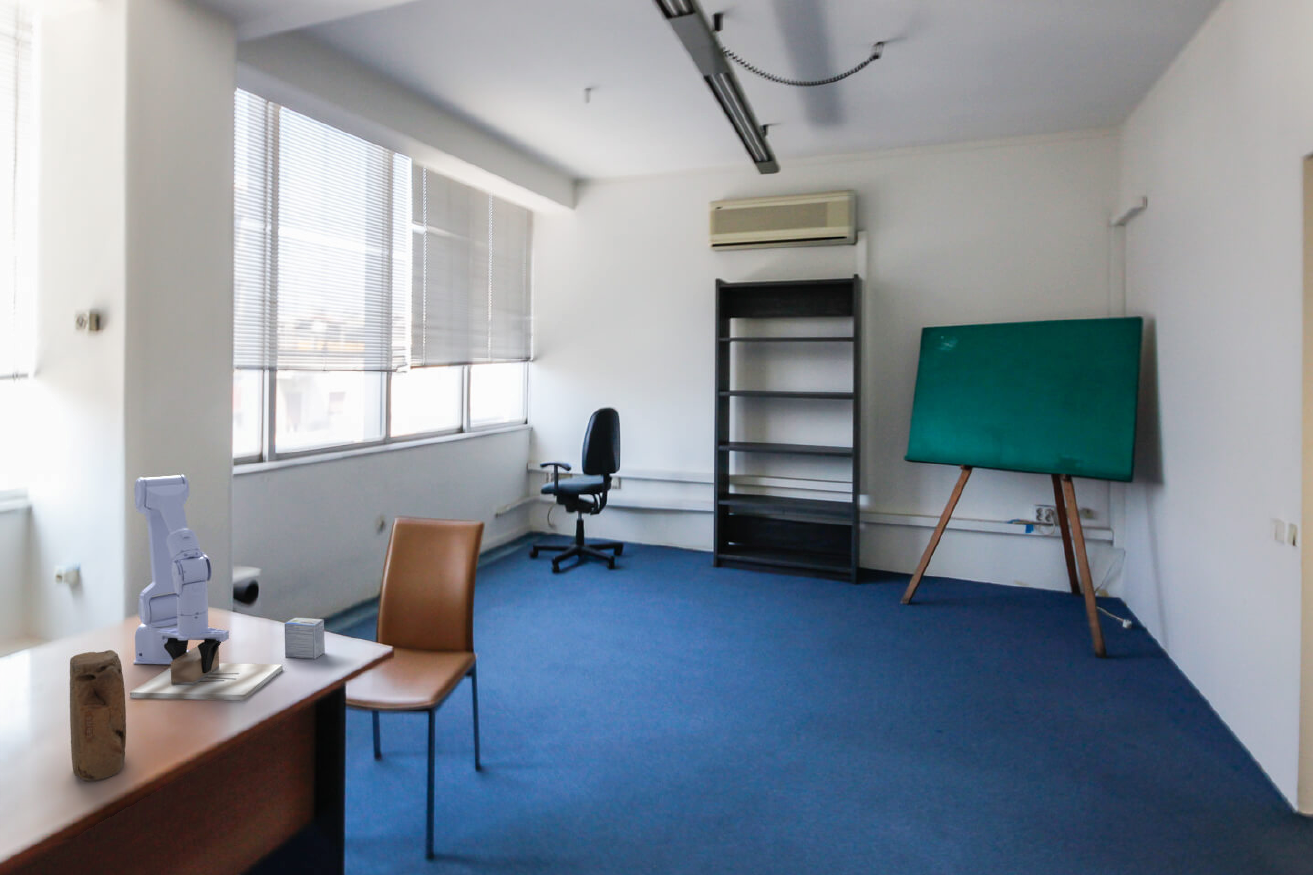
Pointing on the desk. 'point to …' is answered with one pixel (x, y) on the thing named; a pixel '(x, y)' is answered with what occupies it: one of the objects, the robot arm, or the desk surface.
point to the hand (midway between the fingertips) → (194, 671)
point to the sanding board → (211, 683)
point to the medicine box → (304, 638)
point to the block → (97, 714)
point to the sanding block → (191, 668)
